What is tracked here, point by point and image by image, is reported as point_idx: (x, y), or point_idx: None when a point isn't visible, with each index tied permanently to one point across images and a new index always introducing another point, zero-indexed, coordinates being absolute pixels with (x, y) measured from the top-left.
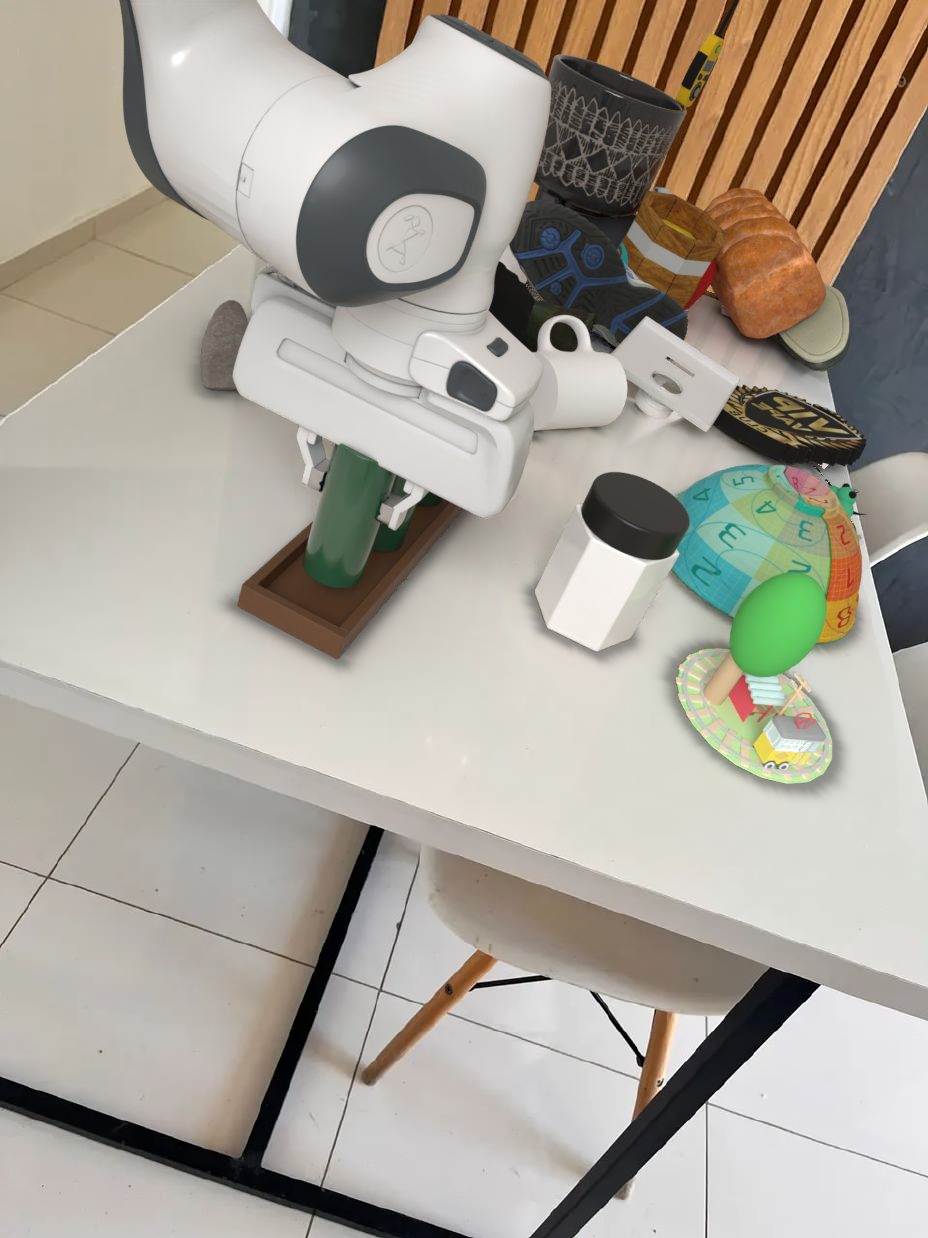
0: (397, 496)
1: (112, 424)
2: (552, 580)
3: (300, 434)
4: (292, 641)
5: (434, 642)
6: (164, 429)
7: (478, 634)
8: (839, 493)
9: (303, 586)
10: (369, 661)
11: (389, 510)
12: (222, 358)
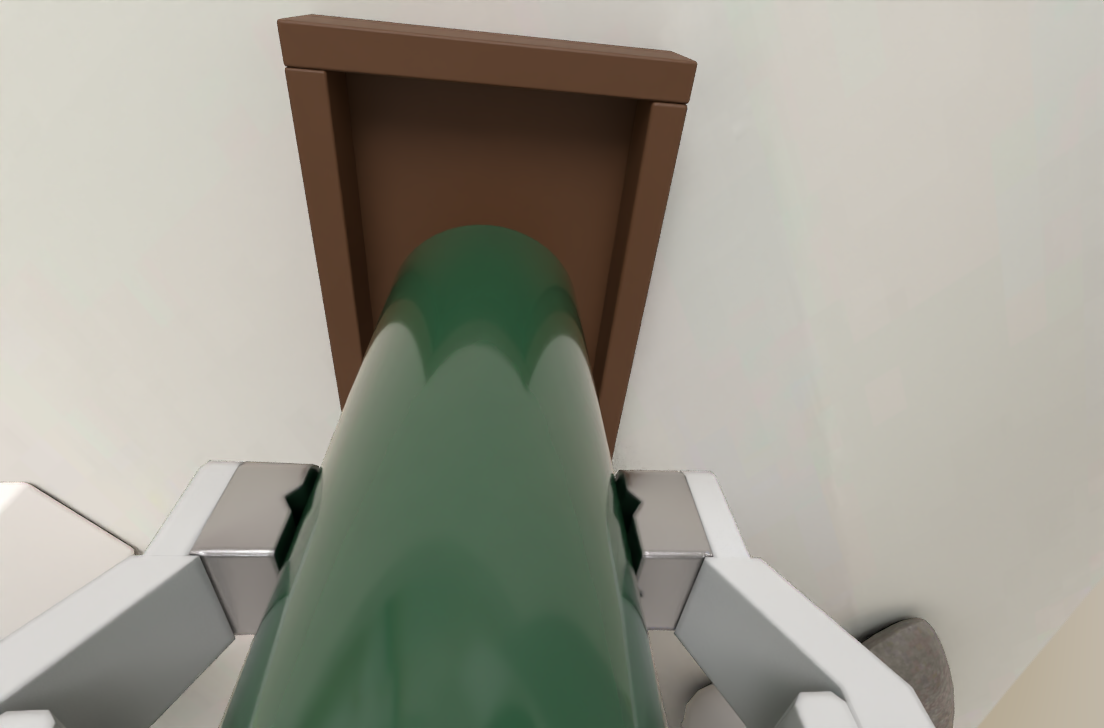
0: (257, 627)
1: (1080, 454)
2: (34, 593)
3: (908, 720)
4: (465, 7)
5: (166, 280)
6: (972, 499)
7: (115, 373)
8: None
9: (541, 242)
10: (235, 81)
11: (222, 534)
12: (925, 685)
